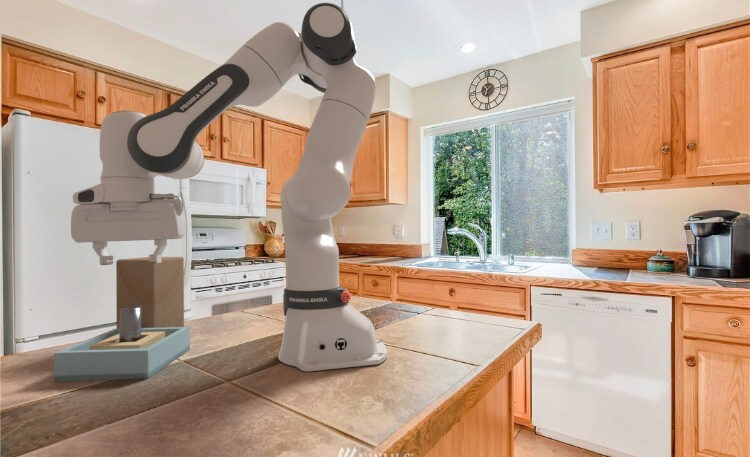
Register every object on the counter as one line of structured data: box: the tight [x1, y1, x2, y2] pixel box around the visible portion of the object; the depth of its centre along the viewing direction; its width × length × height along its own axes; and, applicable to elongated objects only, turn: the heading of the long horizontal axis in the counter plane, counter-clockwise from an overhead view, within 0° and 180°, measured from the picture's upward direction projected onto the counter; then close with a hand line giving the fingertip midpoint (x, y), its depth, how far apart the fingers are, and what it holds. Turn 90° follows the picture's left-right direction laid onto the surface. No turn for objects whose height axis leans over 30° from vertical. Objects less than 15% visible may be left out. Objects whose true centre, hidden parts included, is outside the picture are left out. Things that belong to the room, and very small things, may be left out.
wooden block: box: [115, 256, 185, 329], centre depth 87 cm, size 10×10×20 cm
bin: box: [53, 326, 191, 383], centre depth 72 cm, size 16×16×5 cm
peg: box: [119, 306, 142, 342], centre depth 72 cm, size 4×4×10 cm
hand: (131, 263), depth 72 cm, fingers open, 8 cm apart
